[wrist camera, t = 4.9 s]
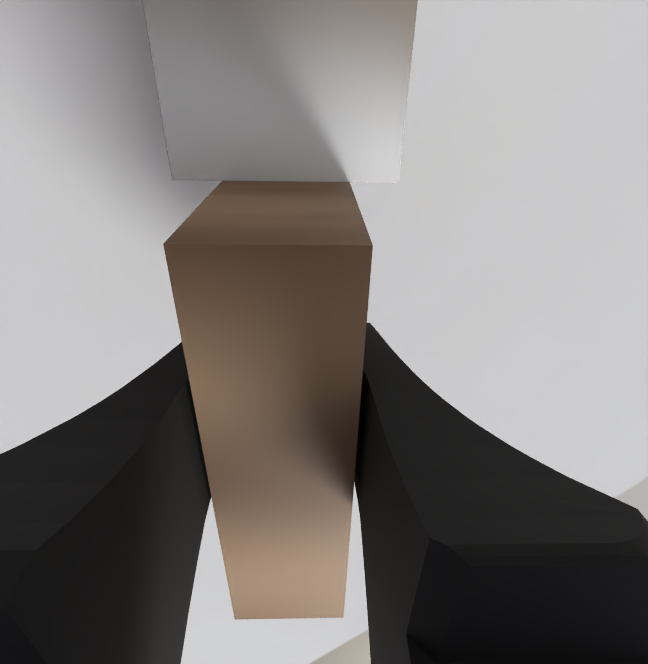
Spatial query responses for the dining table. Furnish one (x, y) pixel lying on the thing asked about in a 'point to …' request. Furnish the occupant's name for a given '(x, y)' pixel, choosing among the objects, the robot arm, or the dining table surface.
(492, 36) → the dining table surface
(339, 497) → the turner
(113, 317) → the dining table surface
